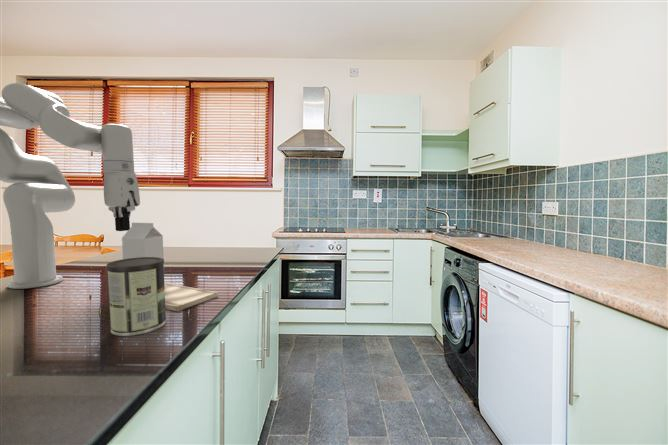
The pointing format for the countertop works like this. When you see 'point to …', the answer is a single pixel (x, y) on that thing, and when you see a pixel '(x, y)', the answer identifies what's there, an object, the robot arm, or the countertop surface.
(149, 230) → the milk carton
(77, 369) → the countertop surface
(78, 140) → the robot arm
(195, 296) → the beech board
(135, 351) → the countertop surface
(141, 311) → the coffee can
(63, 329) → the countertop surface
